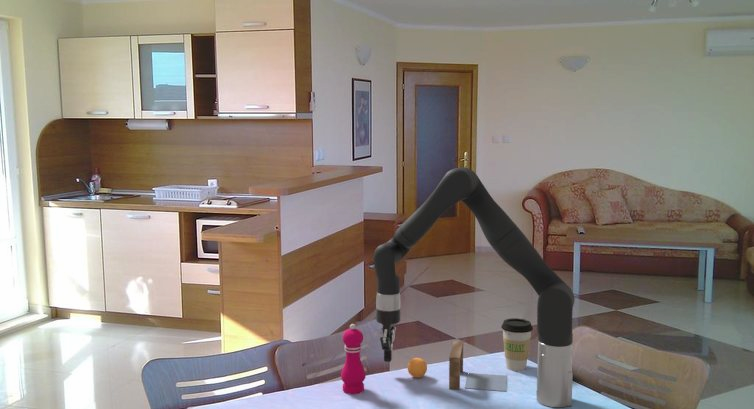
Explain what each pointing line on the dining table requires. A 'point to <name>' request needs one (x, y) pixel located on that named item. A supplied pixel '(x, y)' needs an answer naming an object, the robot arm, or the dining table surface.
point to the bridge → (455, 365)
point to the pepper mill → (353, 362)
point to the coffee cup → (516, 342)
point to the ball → (417, 367)
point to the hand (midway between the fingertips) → (387, 360)
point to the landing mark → (486, 382)
